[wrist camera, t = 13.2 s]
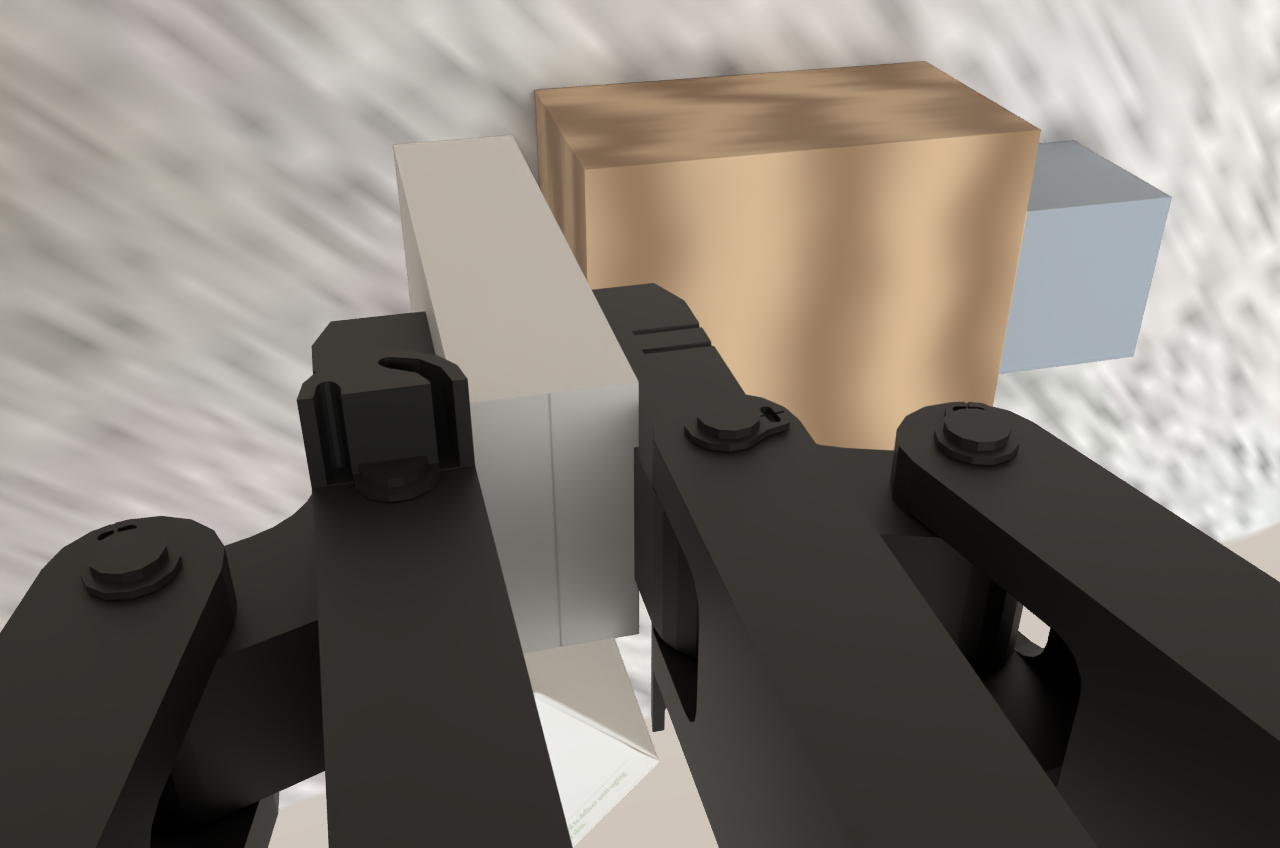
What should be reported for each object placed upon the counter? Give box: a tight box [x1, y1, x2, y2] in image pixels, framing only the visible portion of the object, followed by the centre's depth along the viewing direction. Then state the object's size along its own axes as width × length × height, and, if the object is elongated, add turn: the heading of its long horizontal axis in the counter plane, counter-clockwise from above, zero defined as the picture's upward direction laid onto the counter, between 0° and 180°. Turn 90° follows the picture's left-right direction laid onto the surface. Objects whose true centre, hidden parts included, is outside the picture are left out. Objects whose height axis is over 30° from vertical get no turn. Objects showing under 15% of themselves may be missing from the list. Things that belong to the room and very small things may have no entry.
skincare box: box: [523, 638, 659, 847], centre depth 50 cm, size 8×7×16 cm
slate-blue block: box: [998, 141, 1172, 374], centre depth 51 cm, size 7×7×7 cm
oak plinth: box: [535, 61, 1041, 450], centre depth 48 cm, size 16×14×9 cm
